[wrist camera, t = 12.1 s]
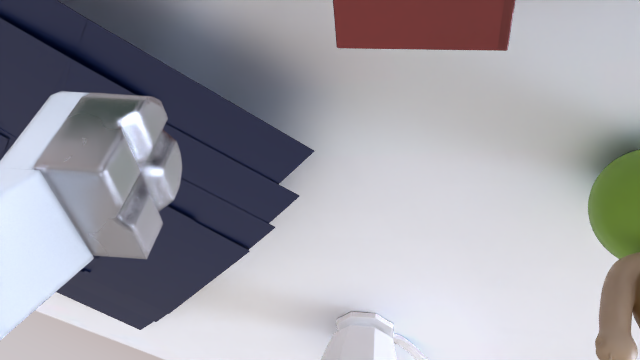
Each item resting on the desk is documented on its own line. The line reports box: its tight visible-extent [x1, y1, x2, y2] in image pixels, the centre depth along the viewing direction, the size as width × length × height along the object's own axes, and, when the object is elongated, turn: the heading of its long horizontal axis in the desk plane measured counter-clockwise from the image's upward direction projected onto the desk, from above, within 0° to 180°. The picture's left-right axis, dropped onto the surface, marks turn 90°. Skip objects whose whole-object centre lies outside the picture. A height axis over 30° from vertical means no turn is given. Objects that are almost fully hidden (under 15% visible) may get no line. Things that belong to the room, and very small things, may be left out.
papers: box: [0, 0, 314, 330], centre depth 34 cm, size 24×30×4 cm
